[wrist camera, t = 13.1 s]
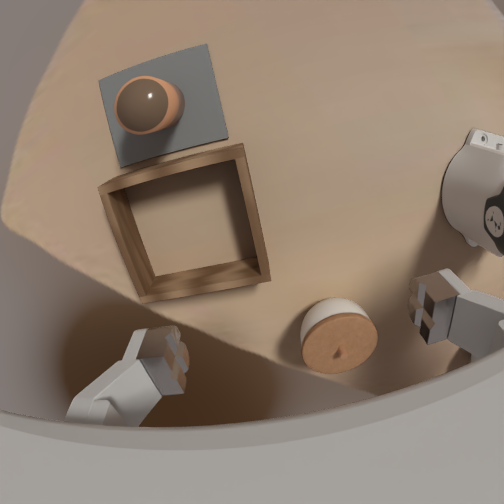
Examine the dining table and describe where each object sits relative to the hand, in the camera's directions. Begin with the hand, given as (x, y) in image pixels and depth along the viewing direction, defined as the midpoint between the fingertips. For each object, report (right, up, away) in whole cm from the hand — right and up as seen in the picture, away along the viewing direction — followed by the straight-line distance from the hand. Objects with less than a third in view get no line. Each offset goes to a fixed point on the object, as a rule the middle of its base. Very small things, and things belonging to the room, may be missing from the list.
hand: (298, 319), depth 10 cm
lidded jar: (+10, -7, +36) cm, 38 cm away
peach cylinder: (-12, +19, +22) cm, 32 cm away
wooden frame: (-9, +6, +29) cm, 31 cm away
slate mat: (-12, +20, +23) cm, 32 cm away
